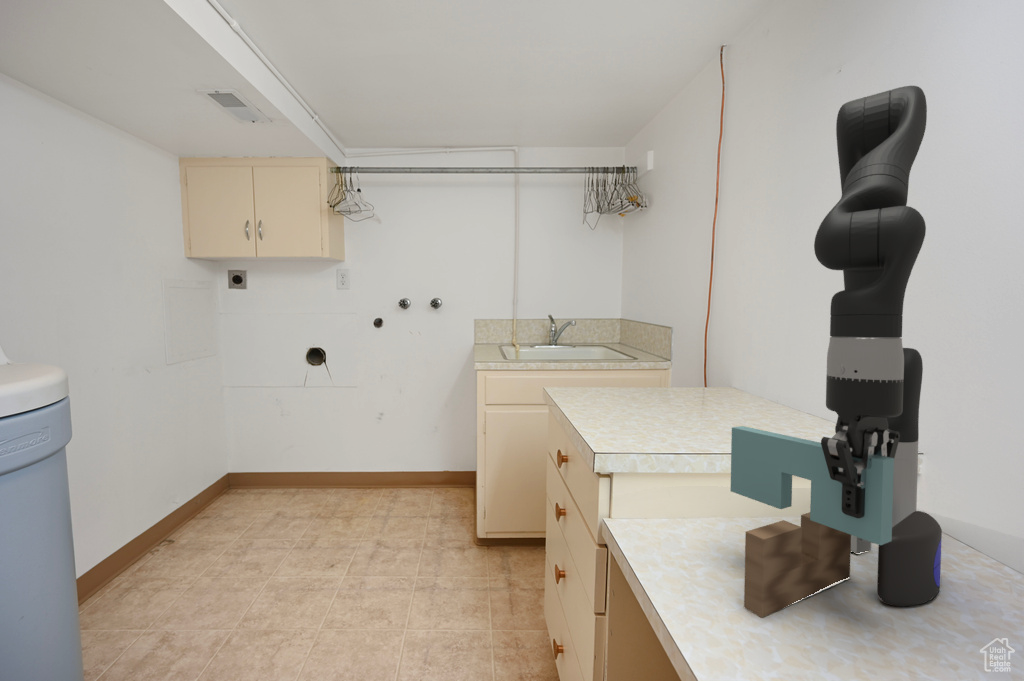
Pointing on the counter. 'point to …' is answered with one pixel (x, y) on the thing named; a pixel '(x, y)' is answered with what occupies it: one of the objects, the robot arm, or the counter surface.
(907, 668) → the counter surface
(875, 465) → the teal plate
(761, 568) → the brown flat u-shaped block
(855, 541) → the usb wall charger
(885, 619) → the counter surface
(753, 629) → the counter surface
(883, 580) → the black rounded block
